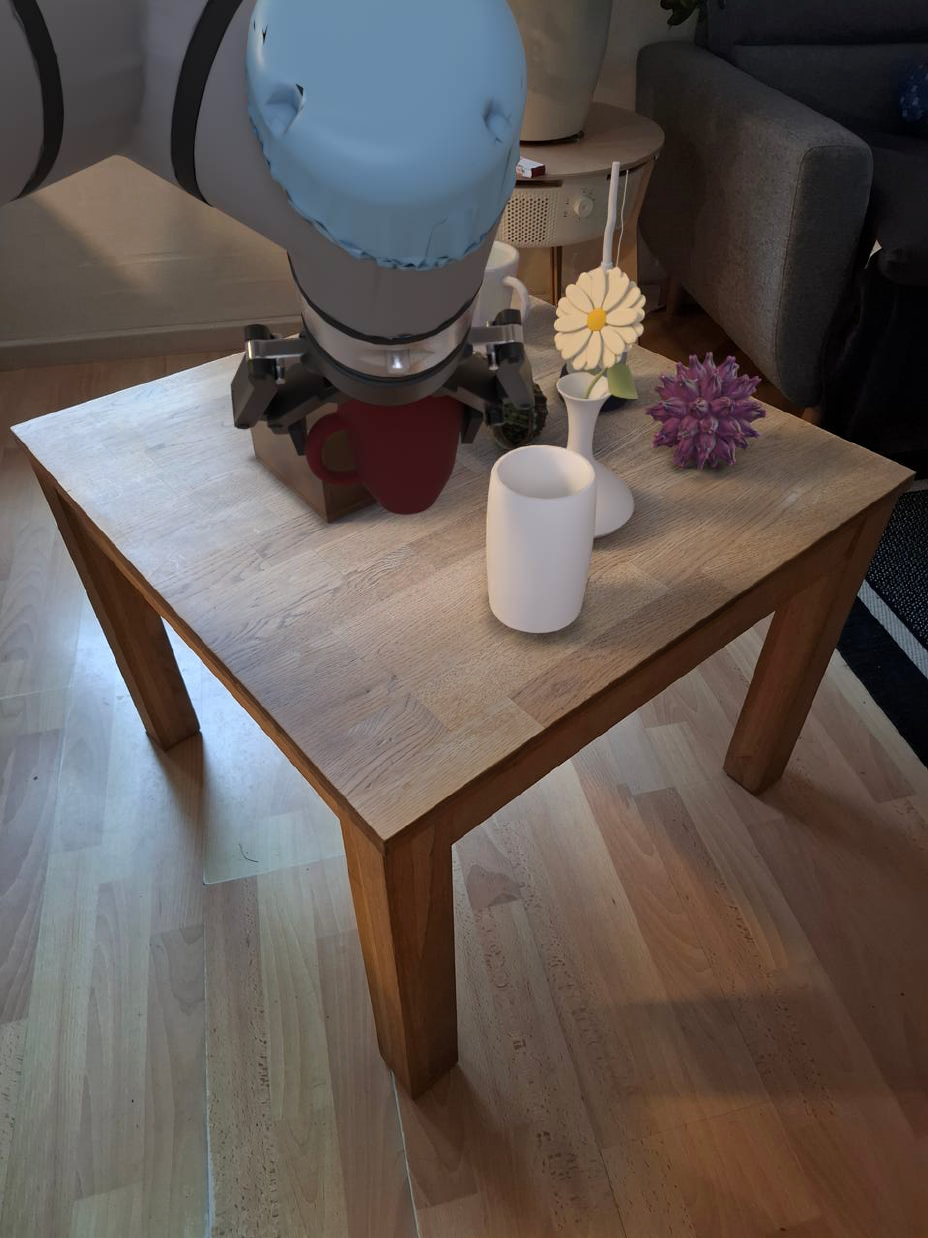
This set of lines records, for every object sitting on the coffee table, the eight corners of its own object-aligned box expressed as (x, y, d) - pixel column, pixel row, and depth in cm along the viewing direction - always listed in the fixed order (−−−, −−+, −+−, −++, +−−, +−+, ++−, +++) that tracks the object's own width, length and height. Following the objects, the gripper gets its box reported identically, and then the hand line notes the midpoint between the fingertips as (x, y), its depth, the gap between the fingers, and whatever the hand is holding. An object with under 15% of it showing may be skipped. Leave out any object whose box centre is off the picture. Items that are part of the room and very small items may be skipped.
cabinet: (255, 459, 93) (239, 375, 86) (355, 421, 98) (347, 340, 92) (327, 523, 84) (315, 436, 78) (432, 478, 90) (429, 393, 83)
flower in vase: (496, 495, 88) (502, 239, 71) (597, 472, 90) (627, 221, 73) (552, 573, 79) (575, 301, 62) (662, 545, 82) (713, 278, 65)
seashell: (441, 456, 93) (438, 368, 86) (466, 403, 101) (465, 320, 94) (539, 468, 91) (544, 380, 84) (556, 414, 99) (563, 330, 92)
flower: (627, 455, 96) (720, 413, 97) (689, 510, 87) (790, 463, 89) (618, 361, 88) (719, 317, 89) (685, 412, 79) (796, 362, 81)
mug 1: (347, 561, 55) (331, 421, 48) (296, 498, 60) (274, 363, 53) (487, 509, 59) (491, 373, 52) (428, 455, 64) (424, 324, 57)
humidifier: (597, 371, 107) (621, 146, 90) (642, 399, 102) (676, 166, 85) (544, 389, 104) (558, 159, 87) (587, 419, 98) (612, 181, 81)
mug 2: (481, 306, 121) (482, 231, 114) (556, 343, 112) (562, 265, 106) (422, 327, 116) (419, 251, 109) (495, 368, 108) (497, 287, 101)
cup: (469, 595, 76) (469, 456, 67) (554, 570, 79) (565, 432, 69) (512, 658, 71) (518, 516, 61) (602, 629, 73) (622, 488, 64)
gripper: (117, 400, 36) (217, 497, 58) (657, 366, 38) (555, 472, 60) (102, 221, 36) (207, 386, 58) (640, 197, 38) (544, 364, 60)
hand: (384, 429), depth 59 cm, fingers closed on mug 1, 10 cm apart
